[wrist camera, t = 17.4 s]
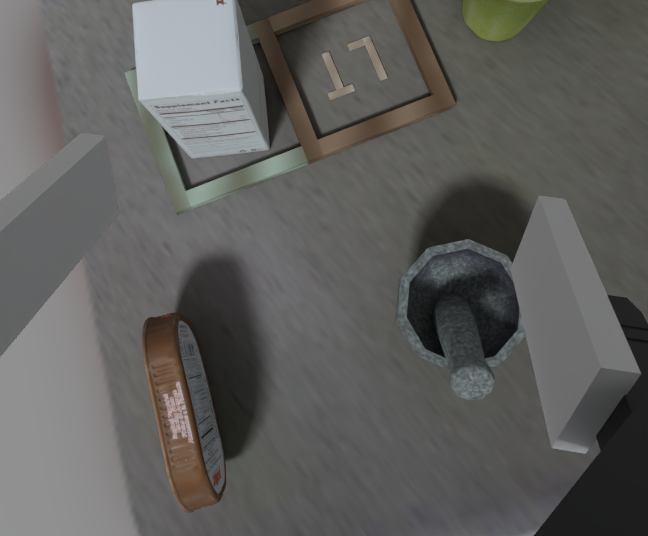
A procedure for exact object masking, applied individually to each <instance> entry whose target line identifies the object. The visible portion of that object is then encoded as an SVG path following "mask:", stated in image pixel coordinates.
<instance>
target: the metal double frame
mask: <svg viewBox="0 0 648 536" xmlns="http://www.w3.org/2000/svg"><path fill="white" fill-rule="evenodd" d="M365 1H368V0H312V1H309V2H306V3H304V4H301V5H299V6H296V7H294V8H291V9H288V10H286V11H283V12H281V13H278V14H275V15H273V16H270V17H268V18H265V19H263V20H260V21H257V22H255V23H252V24H250V25H247V26H246V27H247V30H248V33H249V36H250V39H251V42H252V45H254V44H257V43H260V44H261V47H262V49H263V52H264V54H265V57H266V59H267V62H268V64H269V67H270V69H271V72H272V74H273V77H274V79H275V82H276V84H277V87H278V89H279V92H280V94H281V97H282V99H283V102H284V104H285V107H286V109H287V112H288V114H289V117H290V119H291V122H292V124H293V127H294V129H295V132H296V134H297V137H298V139H299V142H300V144H301V146H300V147H298V148H295V149H293V150H290V151H288V152H285V153H282V154H280V155H277V156H275V157H272V158H270V159H267V160H264V161H262V162H259V163H257V164H254V165H252V166H249V167H246V168H244V169H241V170H239V171H236V172H234V173H231V174H228V175H226V176H223V177H221V178H218V179H216V180H213V181H210V182H208V183H205V184H203V185H200V186H198V187H195V188H192V189H190V190H186V187H185V184H184V181H183V179H182V176H181V173H180V170H179V168H178V165H177V162H176V159H175V157H174V154H173V151H172V148H171V146H170V143H169V140H168V137H167V135H166V132H165V129H164V128H163V127H162V125H161V124H160V123H159V122H158V121H157V120H156V119H155V118H154V116H153V115H152V114H151V113H150V112H149V111H148V110H147V109H146V108H145V107H144V105H143V104H142V103H141V102H140V101H139V100H138V88H137V74H136V69H133V70H131V71H128V72H126V73H125V75H126V78H127V81H128V83H129V86H130V89H131V92H132V95H133V97H134V100H135V103H136V106H137V109H138V111H139V114H140V117H141V120H142V122H143V125H144V128H145V131H146V134H147V136H148V139H149V142H150V145H151V148H152V150H153V153H154V156H155V159H156V161H157V164H158V167H159V170H160V173H161V175H162V178H163V181H164V184H165V187H166V189H167V192H168V195H169V198H170V201H171V203H172V206H173V209H174V212H175V213H176V214H177V215H179V214H182V213H184V212H187V211H189V210H192V209H194V208H197V207H200V206H202V205H205V204H207V203H210V202H212V201H215V200H218V199H220V198H223V197H225V196H228V195H230V194H233V193H236V192H238V191H241V190H243V189H246V188H248V187H251V186H254V185H256V184H259V183H261V182H264V181H266V180H269V179H271V178H274V177H277V176H279V175H282V174H284V173H287V172H289V171H292V170H295V169H297V168H300V167H302V166H305V165H307V164H310V163H313V162H315V161H318V160H320V159H323V158H325V157H328V156H331V155H333V154H336V153H338V152H341V151H343V150H346V149H349V148H351V147H354V146H356V145H359V144H361V143H364V142H366V141H369V140H372V139H374V138H377V137H379V136H382V135H384V134H387V133H390V132H392V131H395V130H397V129H400V128H402V127H405V126H408V125H410V124H413V123H415V122H418V121H420V120H423V119H426V118H428V117H431V116H433V115H436V114H438V113H441V112H444V111H446V110H449V109H451V108H454V106H455V104H456V103H455V100H454V98H453V96H452V94H451V91H450V89H449V87H448V85H447V82H446V80H445V78H444V76H443V73H442V71H441V69H440V67H439V64H438V62H437V60H436V58H435V55H434V53H433V51H432V49H431V46H430V44H429V42H428V40H427V37H426V35H425V33H424V31H423V28H422V26H421V24H420V22H419V19H418V17H417V15H416V13H415V10H414V8H413V6H412V4H411V1H410V0H389V2H390V4H391V6H392V9H393V11H394V13H395V16H396V18H397V20H398V22H399V25H400V27H401V29H402V31H403V34H404V36H405V38H406V41H407V43H408V45H409V47H410V50H411V52H412V54H413V57H414V59H415V61H416V63H417V66H418V68H419V70H420V73H421V75H422V77H423V79H424V82H425V84H426V86H427V88H428V91H429V93H430V95H431V96H429V97H426V98H424V99H421V100H419V101H416V102H413V103H411V104H408V105H406V106H403V107H401V108H398V109H395V110H393V111H390V112H388V113H385V114H383V115H380V116H377V117H375V118H372V119H370V120H367V121H365V122H362V123H359V124H357V125H354V126H352V127H349V128H347V129H344V130H341V131H339V132H336V133H334V134H331V135H329V136H326V137H323V138H321V139H318V140H317V137H316V135H315V132H314V130H313V127H312V125H311V123H310V120H309V118H308V115H307V113H306V110H305V108H304V105H303V103H302V100H301V98H300V95H299V93H298V90H297V88H296V85H295V83H294V80H293V78H292V75H291V73H290V70H289V68H288V65H287V63H286V61H285V58H284V56H283V53H282V51H281V48H280V46H279V43H278V41H277V38H276V36H278V35H280V34H283V33H285V32H288V31H291V30H293V29H296V28H298V27H301V26H303V25H306V24H309V23H311V22H314V21H316V20H319V19H321V18H324V17H327V16H329V15H332V14H334V13H337V12H340V11H342V10H345V9H347V8H350V7H352V6H355V5H358V4H360V3H363V2H365ZM347 46H348V48H349V50H350V51H352V50H355V49H357V48H360V47H363V46H366V49H367V51H368V53H369V56H370V58H371V60H372V63H373V65H374V67H375V70H376V72H377V74H378V77H379V79H380V81H382V80H384V79H387V75H386V73H385V71H384V68H383V66H382V64H381V61H380V59H379V57H378V54H377V52H376V50H375V47H374V45H373V43H372V40H371V38H370V36H367V37H365V38H362V39H360V40H357V41H355V42H352V43H349V44H347ZM322 57H323V59H324V61H325V64H326V66H327V69H328V71H329V73H330V76H331V78H332V81H333V83H334V86H335V88H336V90H335V91H332V92H330V93H328V96H329V98H330V100H333V99H336V98H338V97H341V96H343V95H346V94H348V93H351V92H354V91H355V89H354V86H353V84H350V85H348V86H345V87H343V84H342V82H341V80H340V77H339V75H338V72H337V70H336V68H335V65H334V63H333V60H332V58H331V56H330V53H329V52H326V53H324V54H322Z"/></svg>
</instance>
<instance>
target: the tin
mask: <svg viewBox="0 0 648 536" xmlns="http://www.w3.org/2000/svg"><path fill="white" fill-rule="evenodd" d="M142 350H143V359H144V365H145V371H146V375H147V380H148V385H149V389H150V394H151V399H152V404H153V408H154V413H155V418H156V422H157V427H158V432H159V437H160V442H161V447H162V451H163V456H164V461H165V466H166V470H167V475H168V479H169V482H170V485H171V488H172V491H173V494H174V496H175V498H176V500H177V502H178V504H179V506H180V507H181V508H182V509H183V510H184V511H185V512H187V513H191V512H193V511H194V510H196V509H200V508H203V507H207V506H211V505H214V504H216V503H218V502H219V501H220V499H221V497H222V494H223V492H224V489H225V486H226V467H225V458H224V451H223V446H222V440H221V436H220V432H219V427H218V422H217V417H216V413H215V408H214V403H213V399H212V394H211V390H210V386H209V382H208V377H207V373H206V369H205V365H204V360H203V356H202V353H201V349H200V346H199V343H198V340H197V337H196V334H195V332H194V330H193V328H192V326H191V324H190V322H189V321H188V319H187V318H185V317H184V316H182V315H181V314H179V313H170V314H167V315H163V316H159V317H155V318H154V317H149V318H148V319H147V320H146V321H145V323H144V326H143V331H142Z"/></svg>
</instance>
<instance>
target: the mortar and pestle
mask: <svg viewBox="0 0 648 536" xmlns="http://www.w3.org/2000/svg"><path fill="white" fill-rule="evenodd" d="M511 266H512V262H511V260H510V259H509V257H508V256H507V255H505V254H503V253H500V252H498V251H496V250H493V249H491V248H489V247H486V246H484V245H481V244H479V243H477V242H474V241H472V240H470V239H466V240H462V241H457V242H452V243H448V244H443V245H438V246H434V247H429V248H427V249H426V250H425V251H424V252H423V254H422V255H421V256H420V257H419V258H418V259H417V260H416V261H415V263H414V264H413V265H412V266H411V267H410V268H409V269H408V270H407V272H406V273H405V274H404V275H403V276H402V277H401V278H400V279H399V285H398V296H397V307H396V318H395V320H396V322H397V324H398V325H399V327H400V329H401V330H402V332H403V334H404V335H405V337H406V339H407V341H408V342H409V344H410V346H411V347H412V349H413V351H414V352H415V354H416V356H418V357H421V358H423V359H425V360H427V361H430V362H432V363H434V364H436V365H439V366H441V367H443V368H445V369H448V370H450V372H451V374H450V380H449V382H450V386H451V387H452V389H453V391H454V392H455V394H456V395H457V396H459V397H461V398H464V399H466V400H469V401H470V400H477V399H482V398H484V397H485V396H486V395H487V394H489V393H490V392H491V391H492V389H493V385H494V381H495V378H494V374H493V373H492V371H491V369H490V367H494V366H499V365H501V364H502V362H503V361H504V360H505V359H506V358H507V357H508V355H509V354H510V353H511V352H512V351H513V350H514V348H515V347H516V346H517V345H518V344H519V343H520V342H521V340H522V339H523V338H524V337H525V336H526V334H525V330H524V325H523V321H522V317H521V312H520V308H519V304H518V299H517V295H516V291H515V286H514V282H513V278H512V273H511Z"/></svg>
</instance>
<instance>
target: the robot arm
mask: <svg viewBox="0 0 648 536" xmlns="http://www.w3.org/2000/svg"><path fill="white" fill-rule="evenodd" d="M119 213H120V208H119V203H118V198H117V192H116V187H115V182H114V177H113V171H112V166H111V161H110V156H109V150H108V145H107V140H106V136H102V135H95V134H87V133H81V134H80V135H78V136H77V137H76V138H75V139H74V140H72V141H71V142H70V143H69V144H68V145H66V146H65V147H64V148H63V149H62V150H60V151H59V152H58V153H57V154H56V155H55V156H53V157H52V158H51V159H50V160H48V161H47V162H46V163H45V164H44V165H42V166H41V167H40V168H39V169H38V170H36V171H35V172H34V173H33V174H31V175H30V176H29V177H28V178H27V179H25V180H24V181H23V182H22V183H21V184H19V185H18V186H17V187H16V188H15V189H14V190H12V191H11V192H10V193H9V194H7V195H6V196H5V197H4V198H3V199H1V200H0V356H1V355H2V354H3V353H4V352H5V351H6V349H7V348H8V347H9V346H10V344H11V343H12V342H13V341H14V340H15V339H16V337H17V336H18V335H19V334H20V332H21V331H22V330H23V329H24V328H25V326H26V325H27V324H28V323H29V321H30V320H31V319H32V318H33V317H34V315H35V314H36V313H37V312H38V311H39V309H40V308H41V307H42V306H43V305H44V303H45V302H46V301H47V300H48V299H49V297H50V296H51V295H52V294H53V293H54V291H55V290H56V289H57V288H58V287H59V285H60V284H61V283H62V282H63V281H64V279H65V278H66V277H67V276H68V275H69V273H70V272H71V271H72V270H73V268H74V267H75V266H76V265H77V264H78V262H79V261H80V260H81V259H82V258H83V256H84V255H85V254H86V253H87V252H88V250H89V249H90V248H91V247H92V246H93V244H94V243H95V242H96V241H97V239H98V238H99V237H100V236H101V235H102V233H103V232H104V231H105V230H106V229H107V227H108V226H109V225H110V224H111V223H112V221H113V220H114V219H115V218H116V217H117V215H118V214H119ZM511 273H512V278H513V282H514V286H515V291H516V295H517V299H518V304H519V308H520V312H521V317H522V321H523V325H524V330H525V334H526V339H527V343H528V347H529V352H530V356H531V360H532V365H533V369H534V373H535V378H536V382H537V387H538V391H539V395H540V400H541V404H542V408H543V413H544V417H545V421H546V426H547V430H548V434H549V439H550V443H551V448H555V449H561V450H567V451H573V452H579V453H585V454H586V453H587V451H588V450H589V448H590V447H591V446H592V444H593V443H594V441H595V440H596V438H597V440H598V443H599V447H600V450H601V452H600V453H599V454H598V456H597V457H596V458H595V459H594V461H593V462H592V463H591V464H590V466H589V467H588V468H587V469H586V471H585V472H584V473H583V474H582V476H581V477H580V478H579V480H578V481H577V482H576V483H575V485H574V486H573V487H572V488H571V490H570V491H569V492H568V493H567V495H566V496H565V497H564V498H563V500H562V501H561V502H560V503H559V505H558V506H557V507H556V508H555V510H554V511H553V512H552V514H551V515H550V516H549V517H548V519H547V520H546V521H545V522H544V524H543V525H542V526H541V527H540V529H539V530H538V531H537V532H536V534H535V535H534V536H648V324H647V322H646V320H645V318H644V316H643V314H642V312H640V311H639V310H638V309H637V308H636V307H635V306H634V305H633V304H632V303H631V302H630V301H629V300H628V299H627V298H624V297H617V296H610V295H607V294H606V291H605V289H604V287H603V284H602V282H601V280H600V278H599V275H598V273H597V271H596V268H595V266H594V264H593V262H592V259H591V257H590V255H589V252H588V250H587V248H586V245H585V243H584V241H583V239H582V236H581V234H580V232H579V229H578V227H577V225H576V222H575V220H574V218H573V216H572V213H571V211H570V209H569V206H568V204H567V202H566V199H561V198H554V197H546V196H538V199H537V201H536V204H535V207H534V209H533V212H532V214H531V217H530V220H529V222H528V225H527V227H526V230H525V233H524V235H523V238H522V240H521V243H520V245H519V248H518V251H517V253H516V256H515V258H514V261H513V264H512V266H511Z"/></svg>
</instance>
